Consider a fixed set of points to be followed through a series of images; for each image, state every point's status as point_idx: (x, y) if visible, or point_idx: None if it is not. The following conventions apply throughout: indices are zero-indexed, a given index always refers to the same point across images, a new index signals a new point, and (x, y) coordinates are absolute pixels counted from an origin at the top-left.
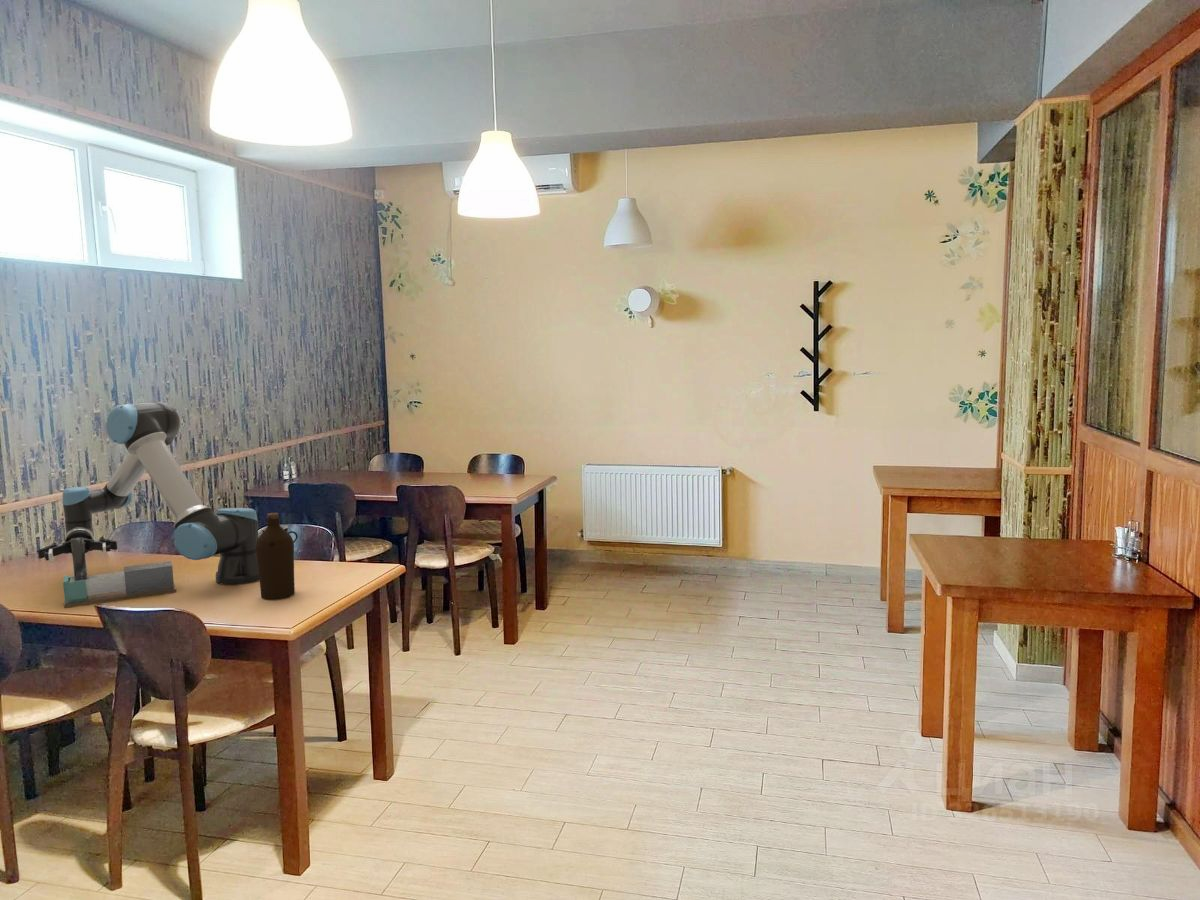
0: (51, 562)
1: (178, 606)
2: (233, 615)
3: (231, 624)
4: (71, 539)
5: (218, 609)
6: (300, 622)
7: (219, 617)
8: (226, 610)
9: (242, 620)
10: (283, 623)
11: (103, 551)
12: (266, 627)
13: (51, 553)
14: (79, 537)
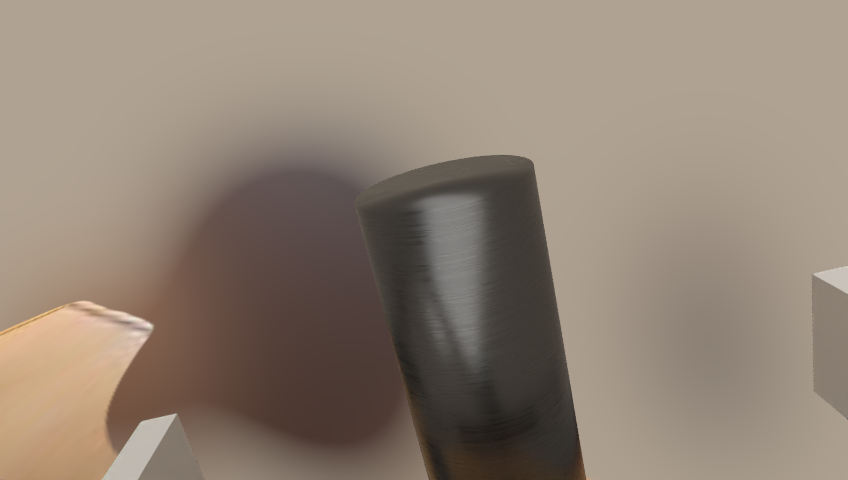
0: (822, 386)
1: None
2: (73, 369)
3: (127, 326)
4: (516, 158)
5: (54, 416)
6: (29, 322)
7: (109, 362)
8: (48, 404)
9: (90, 341)
10: (54, 321)
11: (193, 463)
12: (94, 309)
13: (823, 284)
14: (413, 207)
